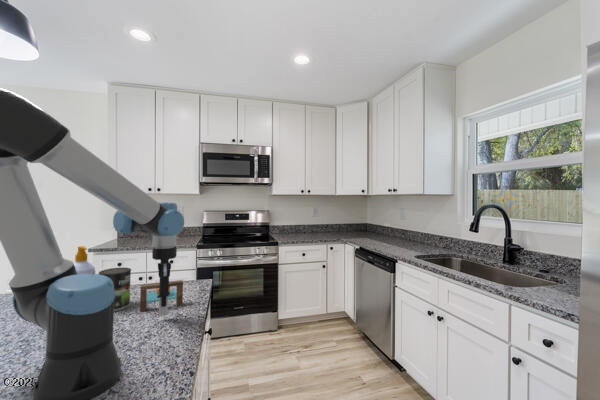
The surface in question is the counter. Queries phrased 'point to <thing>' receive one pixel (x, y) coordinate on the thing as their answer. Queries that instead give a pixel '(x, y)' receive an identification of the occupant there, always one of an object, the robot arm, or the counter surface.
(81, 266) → the soap bottle
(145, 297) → the bridge
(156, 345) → the counter surface
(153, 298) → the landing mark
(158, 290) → the ball
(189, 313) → the counter surface
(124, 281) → the coffee can
